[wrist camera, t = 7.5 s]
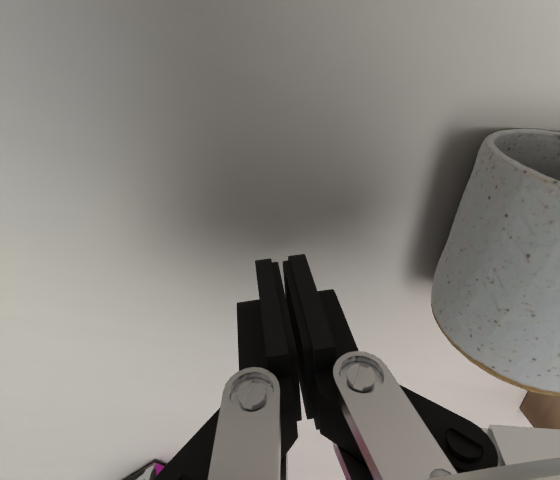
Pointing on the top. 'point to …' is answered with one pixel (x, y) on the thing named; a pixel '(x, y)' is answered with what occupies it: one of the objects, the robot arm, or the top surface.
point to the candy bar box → (147, 472)
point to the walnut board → (542, 410)
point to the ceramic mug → (506, 262)
